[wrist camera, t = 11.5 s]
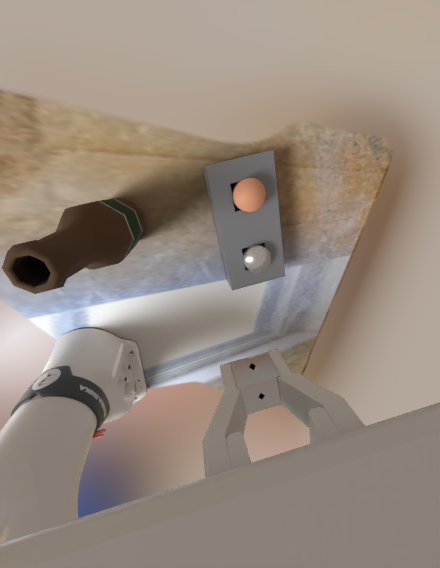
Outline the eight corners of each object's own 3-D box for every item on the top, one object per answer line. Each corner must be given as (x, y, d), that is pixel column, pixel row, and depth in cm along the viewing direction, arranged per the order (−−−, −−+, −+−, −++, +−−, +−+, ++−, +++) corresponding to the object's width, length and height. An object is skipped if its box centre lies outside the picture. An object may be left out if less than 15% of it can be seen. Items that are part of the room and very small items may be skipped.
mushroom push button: (254, 205, 37) (267, 207, 31) (229, 211, 36) (238, 215, 31) (250, 176, 35) (263, 174, 29) (224, 183, 35) (232, 181, 29)
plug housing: (274, 267, 44) (285, 275, 39) (226, 279, 43) (232, 290, 38) (261, 154, 35) (273, 149, 31) (202, 168, 35) (205, 165, 30)
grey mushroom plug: (260, 258, 42) (272, 268, 36) (238, 264, 41) (247, 275, 36) (257, 236, 40) (269, 243, 34) (234, 242, 40) (242, 250, 34)
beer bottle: (95, 193, 34) (-63, 197, 12) (148, 202, 35) (93, 221, 14) (97, 242, 36) (-29, 318, 15) (145, 248, 38) (96, 325, 16)
